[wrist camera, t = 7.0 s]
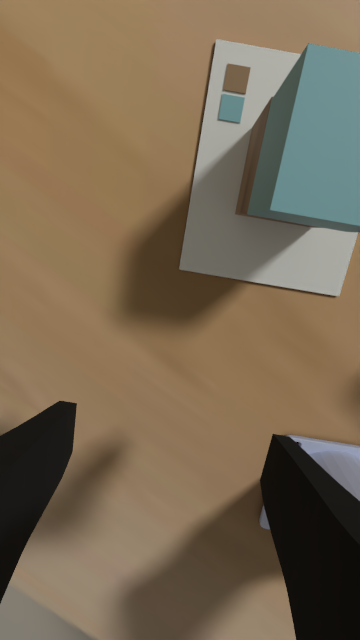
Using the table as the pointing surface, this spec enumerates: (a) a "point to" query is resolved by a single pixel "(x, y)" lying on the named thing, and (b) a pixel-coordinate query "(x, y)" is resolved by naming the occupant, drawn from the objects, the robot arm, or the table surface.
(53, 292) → the table surface
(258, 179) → the brick teal
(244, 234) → the baseplate
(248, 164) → the brick walnut
